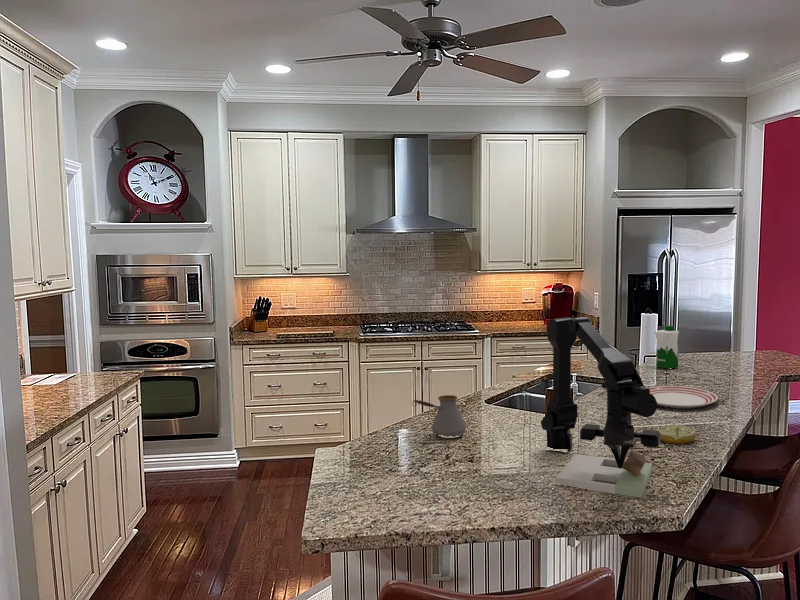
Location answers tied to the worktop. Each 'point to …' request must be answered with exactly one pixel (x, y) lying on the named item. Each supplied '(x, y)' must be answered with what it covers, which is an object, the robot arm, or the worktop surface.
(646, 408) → the robot arm
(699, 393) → the dinner plate
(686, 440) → the decorated donut
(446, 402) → the coffee pot
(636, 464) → the walnut block
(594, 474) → the trap deck
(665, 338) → the milk carton
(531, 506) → the worktop surface
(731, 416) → the worktop surface
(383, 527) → the worktop surface
